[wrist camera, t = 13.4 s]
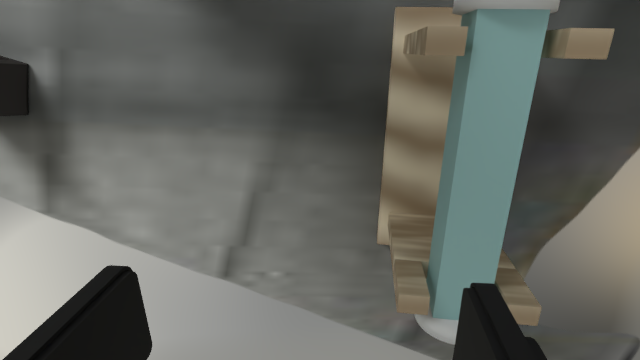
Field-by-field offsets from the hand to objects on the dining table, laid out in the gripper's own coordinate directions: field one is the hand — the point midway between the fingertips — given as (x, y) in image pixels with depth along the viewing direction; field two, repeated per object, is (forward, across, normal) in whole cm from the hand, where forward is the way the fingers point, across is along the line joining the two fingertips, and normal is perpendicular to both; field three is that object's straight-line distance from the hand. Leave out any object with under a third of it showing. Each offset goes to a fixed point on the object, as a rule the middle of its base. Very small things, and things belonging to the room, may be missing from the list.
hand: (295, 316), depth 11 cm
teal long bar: (+21, -10, +2) cm, 24 cm away
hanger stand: (+31, -11, +3) cm, 33 cm away
